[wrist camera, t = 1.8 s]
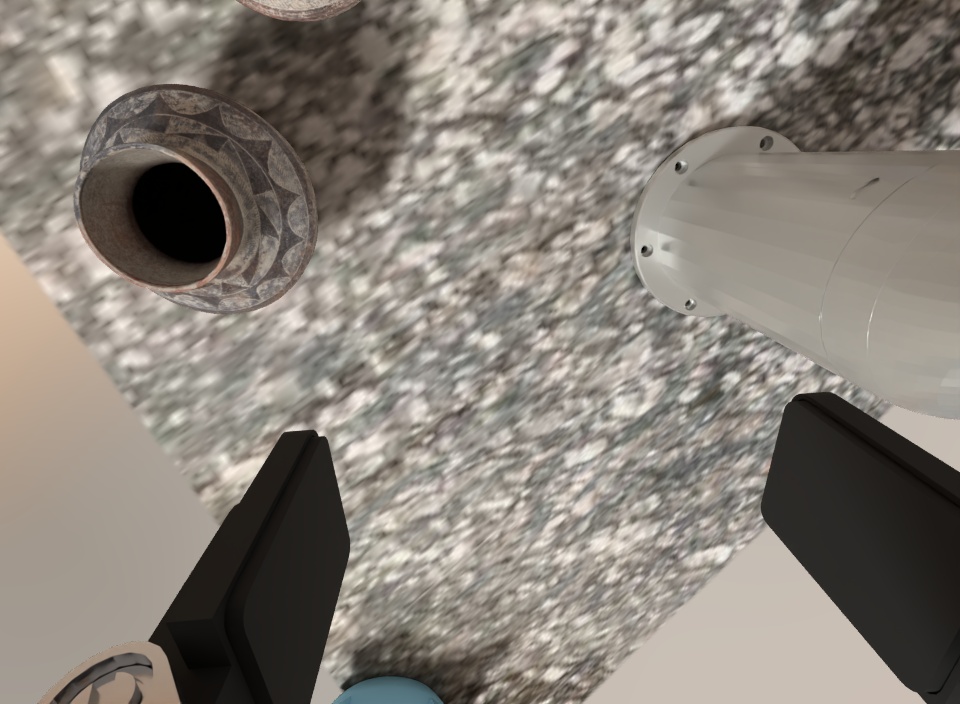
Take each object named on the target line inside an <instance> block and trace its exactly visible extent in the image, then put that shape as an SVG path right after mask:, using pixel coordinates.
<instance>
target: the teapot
mask: <svg viewBox="0 0 960 704" xmlns="http://www.w3.org/2000/svg"><path fill="white" fill-rule="evenodd" d="M332 704H443V702H442V701H441V700H440V698H439V697H438V696H437V695H436V694H435V693H434V692H433V691H432V690H431V689H430V688H429V687H428V686H426V685H425V684H423V683H421V682H419V681H416V680H413V679H410V678H405V677H398V676H384V677H376V678H371V679H367V680H364V681H361V682H359V683H357V684H355V685H353V686H351V687H350V688H348V689H347V690H346V691H345V692H344V693H342V694H341V695H340V696H339V697H338V698H337V699H336V700H335V701H334V702H333V703H332Z"/></svg>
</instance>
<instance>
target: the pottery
mask: <svg viewBox="0 0 960 704" xmlns="http://www.w3.org/2000/svg"><path fill="white" fill-rule="evenodd" d="M237 1H238V2H240V3H241V4H243V5H244V6H246V7H249V8H250V9H252V10H254V11H257V12H259V13H261V14H264V15H267V16H269V17H272V18H275V19H281V20H288V21H301V22H303V21H318V20H325V19H327V18H332V17H333V16H338V15H339V14H341V13H344V12H345V11H347V10H349V9H351V8H352V7H354V6H355V5H357V4H358V3H359V2H360V1H361V0H237ZM74 212H75V217H76V222H77V225H78V227H79V229H80V231H81V234H82V236H83V238H84V239H85V241H86V243H87V244H88V246H89V247H90V249H91V250H92V251H93V252H94V254H95V255H96V256H97V257H98V258H99V259H100V260H101V261H102V262H103V263H104V264H105V265H106V266H107V267H109V268H110V269H111V270H112V271H114V272H115V273H117V274H118V275H119V276H121V277H122V278H124V279H126V280H128V281H130V282H132V283H134V284H136V285H138V286H141V287H145V288H148V289H150V290H151V291H153V292H154V293H156V294H157V295H159V296H161V297H163V298H165V299H167V300H169V301H171V302H173V303H176V304H178V305H181V306H183V307H186V308H189V309H193V310H197V311H201V312H207V313H214V314H240V313H247V312H250V311H254V310H257V309H260V308H263V307H265V306H267V305H269V304H272V303H273V302H275V301H276V300H278V299H279V298H281V297H282V296H283V295H284V294H285V293H286V292H287V291H288V290H289V289H291V288H292V287H293V286H294V284H295V283H296V282H297V281H298V279H299V278H300V277H301V275H302V274H303V272H304V270H305V268H306V267H307V265H308V263H309V261H310V259H311V257H312V254H313V252H314V249H315V245H316V241H317V233H318V213H317V204H316V198H315V193H314V189H313V186H312V183H311V180H310V177H309V175H308V172H307V170H306V168H305V166H304V164H303V163H302V161H301V160H300V158H299V156H298V155H297V154H296V152H295V150H294V149H293V148H292V146H291V145H290V144H289V143H288V141H287V140H286V139H285V138H284V137H283V136H282V135H281V134H280V133H279V132H278V131H277V130H276V129H275V128H274V127H273V126H271V125H270V124H269V123H268V122H267V121H265V120H264V119H263V118H262V117H260V116H259V115H258V114H256V113H255V112H253V111H252V110H251V109H249V108H247V107H246V106H244V105H242V104H240V103H238V102H236V101H234V100H232V99H230V98H228V97H226V96H223V95H221V94H219V93H217V92H213V91H211V90H208V89H204V88H199V87H195V86H189V85H181V84H162V85H153V86H147V87H143V88H140V89H137V90H134V91H132V92H129V93H127V94H124V95H122V96H121V97H119V98H118V99H116V100H115V101H113V102H112V103H111V104H109V105H108V106H107V107H106V108H105V109H104V110H103V111H102V113H101V114H100V115H99V117H98V118H97V120H96V121H95V123H94V124H93V126H92V128H91V130H90V132H89V134H88V136H87V139H86V142H85V145H84V149H83V153H82V157H81V162H80V173H79V176H78V178H77V181H76V185H75V190H74Z"/></svg>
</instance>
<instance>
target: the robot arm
mask: <svg viewBox="0 0 960 704" xmlns="http://www.w3.org/2000/svg"><path fill="white" fill-rule="evenodd" d="M760 142H761V144H760ZM676 163H678V169H677V170H675V165H676ZM630 246H631V257H632V260H633V264H634V268H635V271H636V273H637V275H638V277H639V279H640V281H641V283H642V285H643V286H644V287H645V288H646V289H647V290H648V292H649V293H650V294H651V295H652V296H653V297H654V298H656V299H657V300H658V301H660V302H661V303H662V304H664V305H666V306H667V307H669V308H671V309H672V310H674V311H677V312H679V313H682V314H685V315H689V316H699V317H711V316H721V315H725V314H728V315H730V316H731V317H733V318H735V319H737V320H739V321H740V322H742V323H744V324H746V325H748V326H749V327H751V328H753V329H755V330H757V331H758V332H760V333H762V334H764V335H766V336H767V337H769V338H771V339H773V340H775V341H777V342H778V343H780V344H782V345H784V346H786V347H787V348H789V349H791V350H793V351H795V352H796V353H798V354H800V355H802V356H804V357H805V358H807V359H809V360H811V361H813V362H814V363H816V364H818V365H820V366H822V367H824V368H825V369H827V370H829V371H831V372H833V373H834V374H836V375H838V376H840V377H842V378H843V379H845V380H847V381H849V382H851V383H852V384H854V385H856V386H858V387H860V388H862V389H864V390H866V391H868V392H870V393H871V394H873V395H875V396H877V397H879V398H881V399H883V400H885V401H887V402H889V403H892V404H894V405H896V406H899V407H901V408H904V409H907V410H910V411H913V412H916V413H920V414H924V415H929V416H934V417H938V418H944V419H954V420H960V150H933V151H853V152H802V151H801V150H800V149H799V148H798V147H797V146H796V145H795V144H794V143H793V142H792V141H791V140H789V139H788V138H786V137H784V136H782V135H781V134H779V133H777V132H776V131H772V130H769V129H765V128H762V127H753V126H736V127H727V128H722V129H718V130H715V131H711V132H708V133H705V134H703V135H701V136H699V137H697V138H695V139H693V140H691V141H689V142H687V143H686V144H685V145H683V146H682V147H680V148H679V149H678V150H676V151H675V152H674V153H672V154H671V155H670V156H669V157H668V158H667V159H666V160H665V161H664V162H663V163H662V164H661V165H660V166H659V167H658V169H657V170H656V171H655V173H654V174H653V176H652V177H651V179H650V180H649V181H648V183H647V184H646V186H645V188H644V190H643V192H642V194H641V196H640V198H639V200H638V202H637V206H636V209H635V212H634V216H633V219H632V225H631V234H630ZM643 246H645V249H644V251H642V252H641V249H642V247H643ZM686 302H687V303H686ZM685 303H686V304H685ZM761 512H762V516H763V518H764V520H765V521H766V523H767V524H768V525H769V527H770V528H771V529H772V530H773V531H774V532H775V534H776V535H777V536H778V537H779V538H780V540H781V541H782V542H783V543H784V544H785V545H786V547H787V548H788V549H789V550H790V551H791V553H792V554H793V555H794V556H795V557H796V558H797V560H798V561H799V562H800V563H801V564H802V566H803V567H804V568H805V569H806V570H807V571H808V573H809V574H810V575H811V576H812V577H813V578H814V580H815V581H816V582H817V583H818V584H819V585H820V587H821V588H822V589H823V590H824V591H825V593H826V594H827V595H828V596H829V597H830V599H831V600H832V601H833V602H834V603H835V604H836V606H837V607H838V608H839V609H840V610H841V612H842V613H843V614H844V615H845V616H846V617H847V618H848V619H849V621H850V622H851V623H852V624H853V626H854V627H855V628H856V629H857V630H858V632H859V633H860V634H861V635H862V636H863V637H864V639H865V640H866V641H867V642H868V643H869V645H870V646H871V647H872V648H873V649H874V650H875V652H876V653H877V654H878V655H879V656H880V658H882V660H883V661H884V662H885V663H886V664H887V666H888V667H889V668H890V669H891V670H892V672H893V673H894V674H895V675H896V676H897V678H898V679H899V680H900V681H901V682H902V683H903V684H904V685H905V686H906V687H907V688H909V689H910V690H912V691H914V692H917V693H918V694H919V695H920V696H921V697H922V699H923V700H924V701H925V702H926V703H927V704H960V472H959V471H957V470H955V469H954V468H952V467H951V466H949V465H947V464H946V463H944V462H943V461H941V460H939V459H938V458H936V457H934V456H933V455H931V454H930V453H928V452H927V451H925V450H923V449H922V448H920V447H919V446H917V445H915V444H914V443H912V442H911V441H909V440H908V439H906V438H904V437H903V436H901V435H899V434H898V433H896V432H895V431H893V430H892V429H890V428H888V427H887V426H885V425H883V424H882V423H880V422H879V421H877V420H876V419H874V418H872V417H871V416H869V415H868V414H866V413H864V412H863V411H861V410H860V409H858V408H857V407H855V406H853V405H852V404H850V403H849V402H847V401H845V400H844V399H842V398H841V397H839V396H837V395H836V394H833V393H831V392H819V393H805V394H798V395H796V396H795V397H794V398H793V399H792V401H791V402H789V403H788V404H787V405H786V406H785V409H784V413H783V417H782V421H781V425H780V429H779V433H778V437H777V441H776V445H775V449H774V453H773V457H772V461H771V465H770V469H769V473H768V477H767V481H766V485H765V490H764V494H763V498H762V502H761ZM349 553H350V538H349V533H348V528H347V524H346V519H345V515H344V510H343V506H342V501H341V497H340V493H339V488H338V484H337V479H336V475H335V470H334V466H333V461H332V457H331V453H330V448H329V444H328V440H327V438H326V437H325V436H321V437H319V436H318V434H317V432H316V431H315V430H304V431H290V432H284V433H283V434H282V435H281V437H280V438H279V440H278V442H277V443H276V445H275V447H274V448H273V450H272V451H271V453H270V455H269V456H268V458H267V459H266V461H265V463H264V464H263V466H262V467H261V469H260V471H259V472H258V474H257V476H256V477H255V479H254V480H253V482H252V484H251V485H250V487H249V488H248V490H247V492H246V493H245V495H244V497H243V498H242V500H241V501H240V503H239V504H237V505H235V506H234V507H233V509H232V510H231V511H230V512H229V514H228V515H227V517H226V518H225V520H224V522H223V523H222V525H221V526H220V528H219V530H218V531H217V533H216V534H215V536H214V538H213V539H212V541H211V543H210V544H209V545H208V547H207V549H206V550H205V552H204V553H203V555H202V557H201V558H200V560H199V561H198V563H197V564H196V566H195V568H194V570H193V571H192V572H191V574H190V575H189V577H188V579H187V580H186V582H185V583H184V585H183V587H182V588H181V590H180V591H179V593H178V595H177V596H176V598H175V599H174V601H173V602H172V604H171V606H170V607H169V609H168V610H167V612H166V614H165V615H164V617H163V618H162V620H161V621H160V623H159V625H158V626H157V628H156V629H155V631H154V633H153V634H152V636H151V637H150V639H149V641H145V642H144V641H143V642H129V643H125V644H122V645H117V646H114V647H111V648H109V649H107V650H105V651H103V652H101V653H99V654H96V655H94V656H92V657H90V658H89V659H88V660H86V661H85V662H83V663H82V664H80V665H79V666H77V667H76V668H74V669H73V670H71V671H70V672H68V673H67V674H66V675H65V676H64V677H63V678H62V679H61V680H60V681H58V682H57V683H56V684H55V685H54V686H53V687H52V688H51V689H49V690H48V692H47V693H46V694H45V695H44V697H43V698H42V699H41V700H40V701H39V702H38V704H310V702H311V698H312V694H313V690H314V687H315V683H316V679H317V675H318V672H319V668H320V664H321V660H322V657H323V653H324V649H325V645H326V641H327V638H328V634H329V630H330V626H331V622H332V619H333V615H334V611H335V607H336V604H337V600H338V596H339V592H340V588H341V585H342V581H343V577H344V573H345V569H346V566H347V562H348V558H349Z"/></svg>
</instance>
